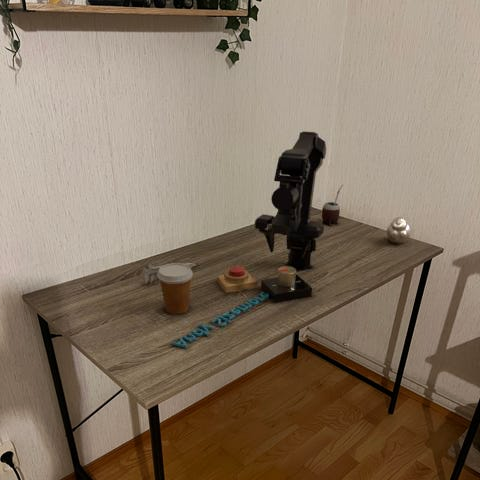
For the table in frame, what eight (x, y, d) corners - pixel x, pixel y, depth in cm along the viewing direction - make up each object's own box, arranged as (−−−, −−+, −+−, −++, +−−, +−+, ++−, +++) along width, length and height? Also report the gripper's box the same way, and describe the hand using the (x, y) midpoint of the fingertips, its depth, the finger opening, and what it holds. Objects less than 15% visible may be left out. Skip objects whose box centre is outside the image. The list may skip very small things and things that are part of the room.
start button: (240, 270, 152) (240, 265, 151) (245, 276, 149) (245, 271, 148) (227, 272, 151) (227, 267, 150) (232, 278, 147) (232, 273, 146)
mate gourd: (320, 225, 199) (324, 188, 192) (321, 219, 206) (324, 183, 198) (339, 226, 198) (343, 189, 191) (339, 220, 205) (343, 184, 197)
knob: (290, 278, 149) (291, 264, 146) (298, 285, 145) (299, 271, 142) (274, 281, 147) (275, 266, 145) (282, 288, 143) (283, 273, 141)
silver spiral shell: (378, 241, 185) (383, 215, 179) (396, 236, 189) (400, 211, 184) (397, 249, 178) (402, 222, 173) (414, 244, 183) (420, 218, 178)
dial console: (295, 282, 153) (296, 273, 152) (311, 296, 145) (312, 287, 144) (260, 288, 150) (261, 279, 148) (274, 303, 142) (275, 293, 140)
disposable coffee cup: (180, 320, 133) (177, 280, 127) (153, 310, 137) (149, 271, 131) (200, 306, 140) (199, 267, 134) (174, 297, 144) (172, 259, 138)
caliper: (146, 285, 151) (144, 266, 147) (143, 284, 151) (142, 265, 148) (196, 266, 163) (195, 248, 160) (193, 265, 164) (193, 247, 161)
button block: (246, 277, 156) (246, 265, 154) (256, 288, 150) (256, 276, 148) (216, 282, 153) (216, 270, 151) (225, 293, 147) (225, 281, 145)
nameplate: (168, 343, 123) (182, 351, 120) (168, 341, 122) (182, 348, 119) (260, 293, 147) (273, 298, 144) (260, 290, 146) (273, 296, 144)
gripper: (247, 203, 131) (245, 258, 138) (315, 213, 124) (309, 270, 132) (263, 194, 140) (260, 246, 147) (327, 202, 133) (321, 256, 141)
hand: (286, 254), depth 141 cm, fingers open, 9 cm apart
